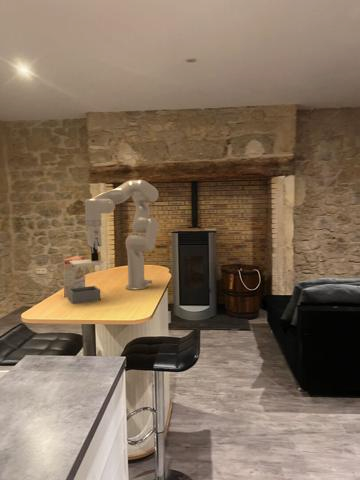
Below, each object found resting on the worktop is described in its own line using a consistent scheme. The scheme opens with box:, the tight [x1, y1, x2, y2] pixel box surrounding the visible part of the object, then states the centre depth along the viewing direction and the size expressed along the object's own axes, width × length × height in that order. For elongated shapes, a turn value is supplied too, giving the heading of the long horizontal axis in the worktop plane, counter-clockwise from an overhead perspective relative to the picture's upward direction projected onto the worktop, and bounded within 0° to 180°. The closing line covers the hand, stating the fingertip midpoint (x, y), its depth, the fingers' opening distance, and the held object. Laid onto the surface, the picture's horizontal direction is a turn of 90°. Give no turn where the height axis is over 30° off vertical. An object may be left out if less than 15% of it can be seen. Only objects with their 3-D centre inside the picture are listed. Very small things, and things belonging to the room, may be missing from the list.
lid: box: [70, 250, 105, 267], centre depth 175 cm, size 15×12×6 cm
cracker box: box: [62, 255, 86, 298], centre depth 192 cm, size 14×6×21 cm, turn 168°
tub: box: [67, 285, 101, 305], centre depth 181 cm, size 14×11×6 cm
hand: (94, 260), depth 177 cm, fingers closed on lid, 1 cm apart
